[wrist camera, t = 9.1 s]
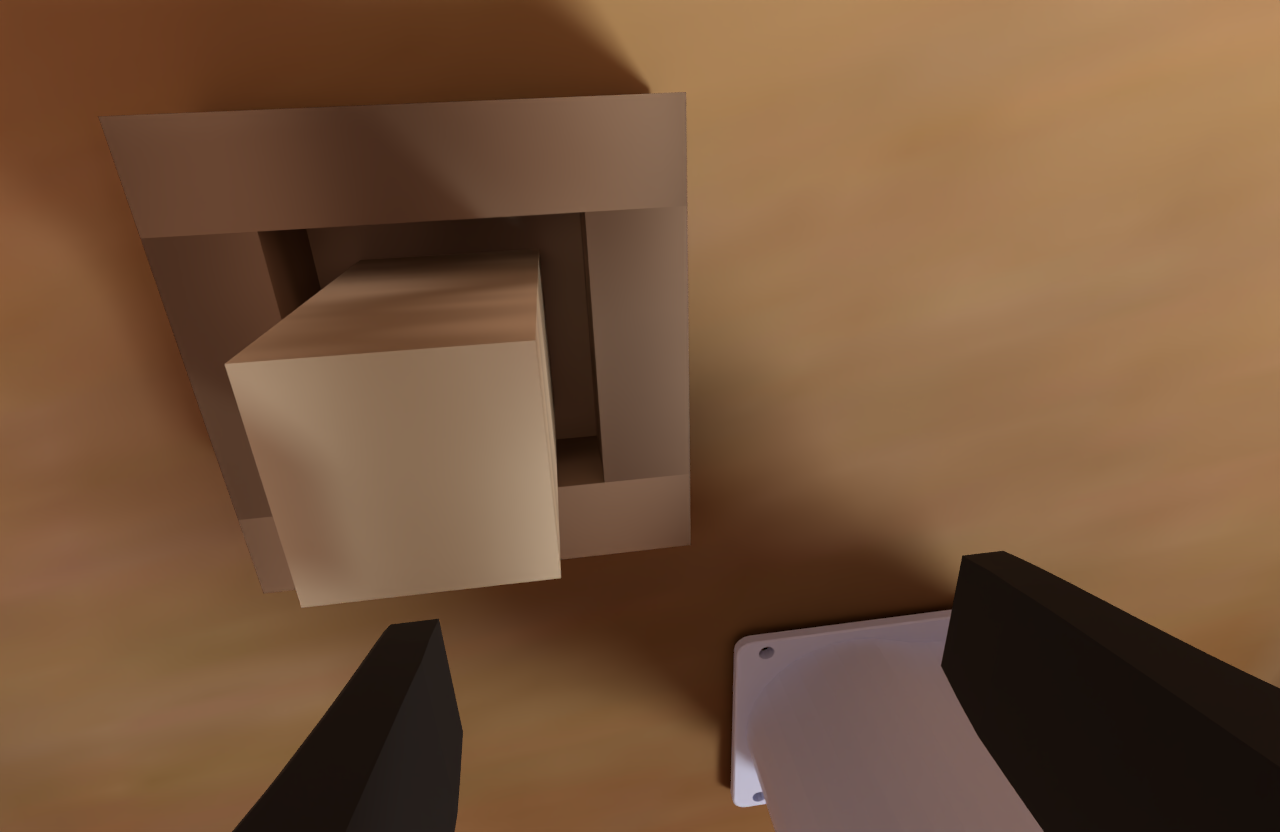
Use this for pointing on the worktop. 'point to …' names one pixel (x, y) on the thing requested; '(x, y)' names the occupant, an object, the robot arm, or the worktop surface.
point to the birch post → (409, 428)
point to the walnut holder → (441, 225)
